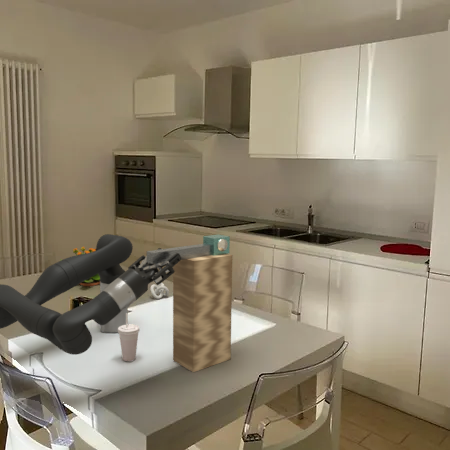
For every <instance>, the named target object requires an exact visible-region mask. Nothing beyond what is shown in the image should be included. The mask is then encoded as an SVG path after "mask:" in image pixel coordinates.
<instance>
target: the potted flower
mask: <svg viewBox="0 0 450 450" xmlns="http://www.w3.org/2000/svg"><path fill="white" fill-rule="evenodd" d="M81 251H82V252H81ZM94 251H96V248H93V247H91V248H90V247H89V248H88V250H86V248H85V246H82V247H81V248H80V249H78V248H77V247H76V248H73V250H72V252H73V254H75V256H76V255H81V254H86V253H91V252H94ZM61 260H63V259H62V258H60V260H59V261H61ZM79 285H80V286H81V285H83V287H94V285H95V286H99V285H100V277H99V274H96V275H94V276H92V277H91V278H89V279H87V280H85V281H83V282H82V283H80V284H79Z"/></svg>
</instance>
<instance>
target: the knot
mask: <svg viewBox="0 0 450 450" xmlns="http://www.w3.org/2000/svg"><path fill="white" fill-rule="evenodd" d="M149 288H150V289H149V290H150V293H151V296H152V297H153V298H154V299H156V300H161V299H162V297H164V298H166V297H168V296H169V295H170V291H169V288H168V287H167V286H165V284H164V283H163V282H162V283H161V284H159V285H156V283H155V284H151V286H150V287H149Z"/></svg>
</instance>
